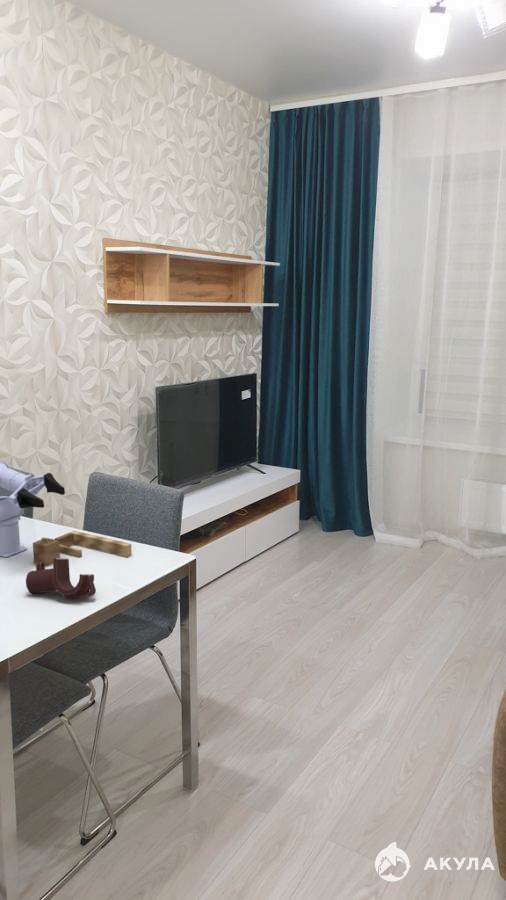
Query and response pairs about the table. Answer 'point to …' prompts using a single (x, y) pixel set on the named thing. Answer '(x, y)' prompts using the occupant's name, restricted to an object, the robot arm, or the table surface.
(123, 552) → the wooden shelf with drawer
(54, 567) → the bracket
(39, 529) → the table surface
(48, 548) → the cabinet
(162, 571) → the table surface
